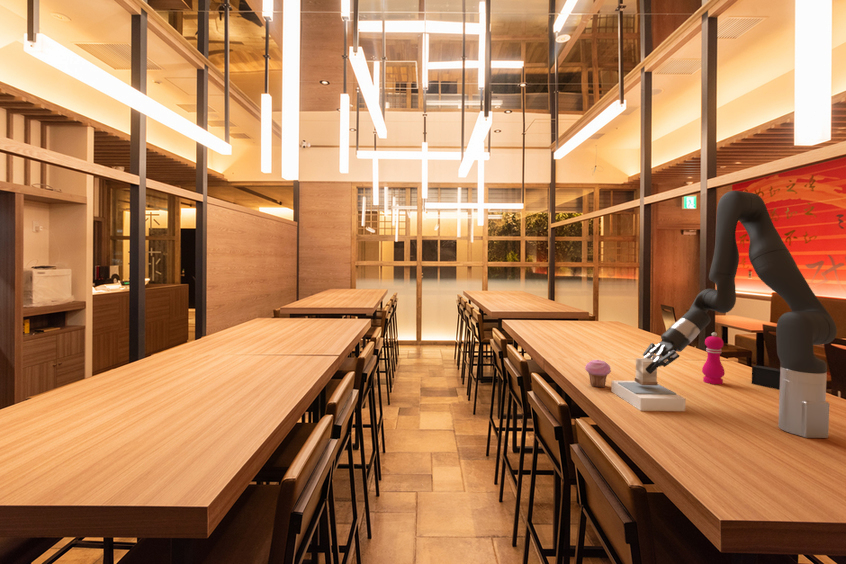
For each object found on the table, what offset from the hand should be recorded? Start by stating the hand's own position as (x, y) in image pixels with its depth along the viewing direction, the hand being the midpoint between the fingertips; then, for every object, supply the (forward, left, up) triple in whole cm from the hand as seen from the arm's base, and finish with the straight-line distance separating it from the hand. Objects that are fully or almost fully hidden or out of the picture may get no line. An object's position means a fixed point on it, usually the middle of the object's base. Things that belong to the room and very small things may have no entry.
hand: (643, 369), depth 135 cm
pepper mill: (+23, -40, -11) cm, 47 cm away
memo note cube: (0, -1, -5) cm, 5 cm away
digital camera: (+19, -59, -11) cm, 63 cm away
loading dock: (0, -1, -11) cm, 11 cm away
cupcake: (+17, +8, -11) cm, 22 cm away
